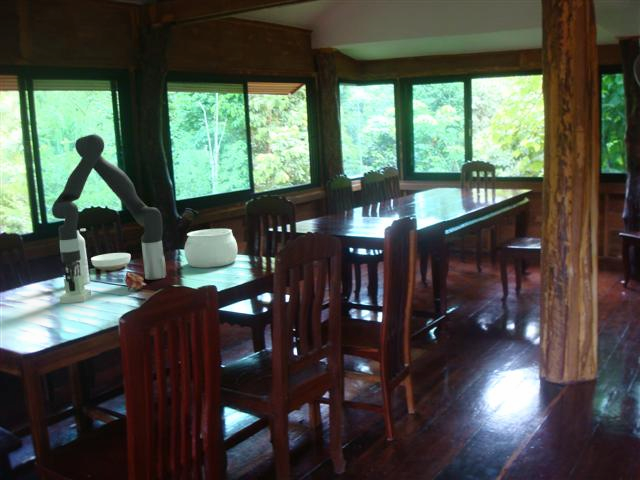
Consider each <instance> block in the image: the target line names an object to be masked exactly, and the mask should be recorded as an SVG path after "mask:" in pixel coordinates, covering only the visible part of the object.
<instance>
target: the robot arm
mask: <svg viewBox="0 0 640 480" xmlns="http://www.w3.org/2000/svg"><path fill="white" fill-rule="evenodd" d="M74 147H75V150H76V152H77V154H78V155H79V156H80V157H81V159H80V161H79V163H78V164H77V165H76V167H75V168H74V169H73V170H72V171H71V173H70V174H69V177H68V179H67V181H66V183H65V185H64V188H63V190H62V192H61V193H60V194H59V195H58V197H57V198H56V200H55V201H54V203H53V205H52V207H51V213H52V215H53V217H54V218H55V219H57V220H64V223H63V224H61V225H60V226H59V227H58V236H59V237H58V238H59V249H60V257H61V261H62V263H66V266H65V267H64V269H63V272H64V277H65V278H66V282H69V290H70V291H75V283H74V281H75V280H74V277H75V276H80V275H81V271H80V262H77V261H79V260H80V259H81V256H80V248H79V242H78V238H77V230H78V229H77V227H78V220H79V208H78V206H77V204H76V203H75V201H78V200H79V199H80V197H81V195H82V193H83V190H84V188H85V186H86V183H87V181H88V178H89V177H90V174H91V172H92V170H94V172H96V173H97V175H98V176H99V177H100V178H101V179H102V180H103V182H105V184H106V185H107V186H108V188H109V189H110V190H111V191H112V192H113V194H114V195H115V196H116V197H117V198H118V199H119V200H120V201H121V203H122V204H124V206H125V207H126V208H127V209H128V211H129V213H130V214H131V215H132V216H133V218H134V219H135V222H136V223H138V225H140V226H141V227H144V234H143V235H142V236H141V241H140V242H141V249H142V259H143V269H144V277H145V280H148V281H149V280H150V281H151V280H152V281H153V280H160V279H165V277H167V269H166V267H167V266H166V261H165V260H166V259H165V255H164V247H163V238H162V237H163V233H164V231H163V229H164V227H163V217H162V213H161V211H160V210H159V209H158V208H157V207H153V206H152V207H150V206H147V205H146V204H145V203H144V202H143V201H142V200H141V199H140V197H139V196H138V194H137V191H136V188H135V186H134V183H133V182H132V180H131V179H130V177H129V176H128V175H127V174H126V173H125V171H123V170H122V169H121V168H119V167H118V166H116V165H115V164H112V163H111V162H110V161H108V160H107V159H105V158H104V156H103V155H102V154H103V153H104V150H105V142H104V139H103V137H101V136H100V135H99V134H93V133H92V134H88V135H85V136H82V137H79V138H77V140H76V141H75V144H74ZM65 278H64V279H65ZM70 278H71V279H70Z"/></svg>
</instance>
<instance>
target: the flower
mask: <svg viewBox="0 0 640 480" xmlns="http://www.w3.org/2000/svg"><path fill="white" fill-rule="evenodd" d="M124 283H125V285H127V287H128V288H127V289H126V290H127V291H131V289H132V290H134V291H139V290H141V289H143V286H147V283H145V282H144V278H143V277H142V276H140V275H138V274H136V273H134V272H133V271H132V272H128V271H127V272H126V273H125V276H124Z"/></svg>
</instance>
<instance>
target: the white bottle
mask: <svg viewBox="0 0 640 480" xmlns="http://www.w3.org/2000/svg"><path fill="white" fill-rule="evenodd" d="M76 230H77V238H78V242H79V248H80V256H81V259H80V260H79V261H77V262H80V271H81V275H83V281H84V285H87V284H90V282H91V281H90V273H89V272H90V271H89V265H88V257H87V248H86V240H85V238H84V237H83V236H82V235H81V234H80V232H86V231H87V229H86V228H80V229H79V230H78V229H76Z"/></svg>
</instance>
